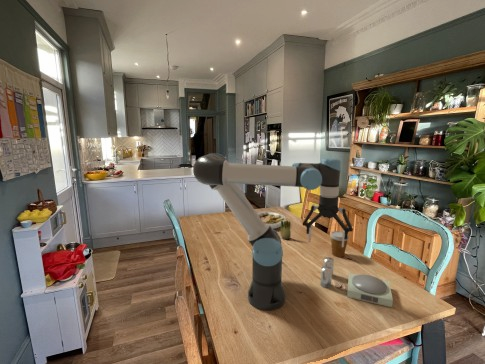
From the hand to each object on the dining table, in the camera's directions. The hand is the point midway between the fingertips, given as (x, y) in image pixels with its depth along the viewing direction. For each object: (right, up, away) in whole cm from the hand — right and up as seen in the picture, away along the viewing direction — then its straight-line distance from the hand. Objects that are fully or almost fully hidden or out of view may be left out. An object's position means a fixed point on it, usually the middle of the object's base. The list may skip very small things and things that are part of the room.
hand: (325, 243), depth 111 cm
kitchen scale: (+17, -20, -3) cm, 26 cm away
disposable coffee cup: (+17, -14, +31) cm, 37 cm away
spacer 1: (+4, -17, +10) cm, 21 cm away
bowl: (-20, -5, +79) cm, 82 cm away
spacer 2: (+1, -19, +2) cm, 19 cm away
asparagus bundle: (-9, -9, +52) cm, 54 cm away
